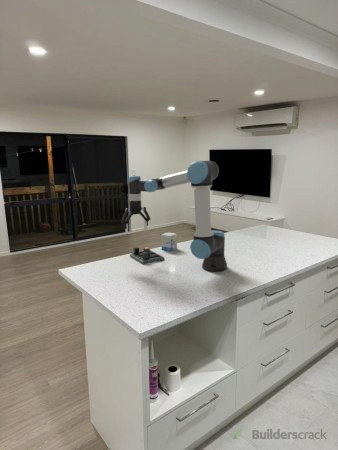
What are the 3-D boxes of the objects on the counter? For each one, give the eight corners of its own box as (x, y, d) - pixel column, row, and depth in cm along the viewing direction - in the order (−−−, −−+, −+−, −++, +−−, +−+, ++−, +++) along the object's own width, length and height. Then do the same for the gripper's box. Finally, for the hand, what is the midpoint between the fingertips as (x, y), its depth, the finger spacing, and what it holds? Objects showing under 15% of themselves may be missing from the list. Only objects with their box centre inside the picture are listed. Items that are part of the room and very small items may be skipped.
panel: (164, 259, 211) (164, 250, 209) (143, 264, 203) (142, 254, 201) (150, 252, 227) (150, 243, 226) (130, 256, 219) (129, 247, 218)
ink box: (170, 251, 230) (170, 235, 227) (161, 249, 235) (160, 234, 232) (177, 248, 236) (177, 233, 234) (168, 246, 241) (167, 231, 239)
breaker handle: (149, 255, 214) (149, 248, 213) (145, 256, 213) (145, 248, 212) (147, 254, 217) (147, 247, 216) (143, 255, 215) (143, 247, 214)
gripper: (149, 197, 213) (150, 228, 217) (114, 201, 200) (116, 233, 205) (155, 199, 206) (155, 230, 211) (119, 202, 194) (120, 235, 199)
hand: (136, 232), depth 208 cm, fingers open, 13 cm apart
